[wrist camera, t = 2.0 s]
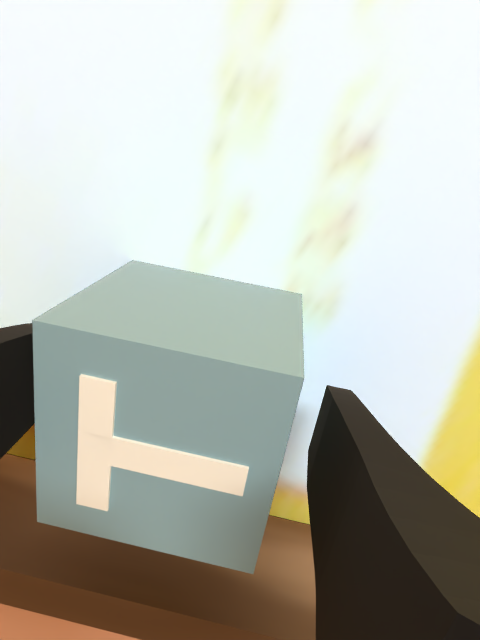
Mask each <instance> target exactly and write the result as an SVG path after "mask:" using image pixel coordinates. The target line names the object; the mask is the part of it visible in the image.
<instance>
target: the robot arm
mask: <svg viewBox="0 0 480 640" xmlns="http://www.w3.org/2000/svg"><path fill="white" fill-rule="evenodd" d="M34 423H35V412H34V369H33V325H32V323H30V324H21V325H15V326H10V327H5V328H0V459H1V458H2V457H3V456H4V455H5V454H6V453H7V452H8V451H9V450H10V449H11V448H12V446H13V445H14V444H15V443H16V442H17V441H18V440H19V439H20V438H21V437H22V436H23V435H24V434H25V433H26V432H27V431H28V430H29V429H30V427H31V426H32V425H33V424H34ZM307 492H308V504H309V516H310V527H311V537H312V548H313V559H314V570H315V587H316V640H480V518H479V517H478V516H476V515H475V514H474V513H473V512H471V511H470V510H469V509H468V508H466V507H465V506H464V505H463V504H461V503H460V502H459V501H458V500H457V499H455V498H454V497H453V496H452V495H451V494H450V493H449V492H447V491H446V490H445V489H444V488H443V487H442V486H440V485H439V484H438V483H437V482H436V481H435V480H434V479H433V478H431V477H430V476H429V475H428V474H427V473H426V472H425V471H424V470H423V469H422V468H421V467H420V466H419V465H418V464H417V463H416V462H415V461H414V460H413V459H412V458H411V457H410V456H409V455H408V454H407V453H406V452H405V451H404V450H403V449H402V448H401V447H400V446H399V445H398V443H397V442H396V441H395V440H394V439H393V438H392V437H391V436H390V435H389V434H388V432H387V431H386V430H385V429H384V428H383V427H382V426H381V424H380V423H379V422H378V421H377V420H376V419H375V417H374V416H373V415H372V414H371V413H370V411H369V410H368V409H367V408H366V407H365V406H364V404H363V403H362V402H361V401H360V400H359V398H358V397H357V396H356V395H355V394H354V393H353V392H352V391H351V390H347V389H342V388H337V387H333V386H328V385H327V387H326V390H325V394H324V397H323V401H322V404H321V408H320V411H319V415H318V418H317V422H316V425H315V429H314V432H313V436H312V439H311V443H310V446H309V450H308V469H307Z"/></svg>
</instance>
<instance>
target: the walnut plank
mask: <svg viewBox="0 0 480 640" xmlns="http://www.w3.org/2000/svg"><path fill="white" fill-rule="evenodd" d="M0 604H4V605H8V606H12V607H16V608H20V609H24V610H28V611H31V612H35V613H39V614H43V615H47V616H51V617H55V618H59V619H63V620H67V621H70V622H74V623H78V624H82V625H86V626H90V627H94V628H98V629H102V630H105V631H109V632H113V633H117V634H121V635H125V636H129V637H133V638H137V639H140V640H316V587H315V570H314V559H313V548H312V537H311V527H310V525H308V524H304V523H300V522H296V521H291V520H287V519H283V518H279V517H274V516H270V515H269V516H268V520H267V523H266V527H265V531H264V535H263V539H262V543H261V546H260V550H259V554H258V558H257V562H256V566H255V570H254V573H253V574H250V573H246V572H242V571H238V570H234V569H229V568H225V567H221V566H217V565H213V564H209V563H205V562H201V561H197V560H192V559H188V558H184V557H180V556H176V555H172V554H168V553H164V552H160V551H155V550H151V549H147V548H143V547H139V546H135V545H131V544H127V543H122V542H118V541H114V540H110V539H106V538H102V537H98V536H94V535H90V534H85V533H81V532H77V531H73V530H69V529H65V528H61V527H57V526H53V525H48V524H44V523H40V522H37V500H36V461H35V460H31V459H26V458H22V457H18V456H14V455H9V454H5V455H4V456H3V457H2V458H1V459H0Z"/></svg>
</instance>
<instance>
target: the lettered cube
mask: <svg viewBox="0 0 480 640" xmlns="http://www.w3.org/2000/svg"><path fill="white" fill-rule="evenodd" d="M32 325H33V369H34V412H35V456H36V500H37V522H40V523H44V524H48V525H53V526H57V527H61V528H65V529H69V530H73V531H77V532H81V533H85V534H90V535H94V536H98V537H102V538H106V539H110V540H114V541H118V542H122V543H127V544H131V545H135V546H139V547H143V548H147V549H151V550H155V551H160V552H164V553H168V554H172V555H176V556H180V557H184V558H188V559H192V560H197V561H201V562H205V563H209V564H213V565H217V566H221V567H225V568H229V569H234V570H238V571H242V572H246V573H250V574H253V573H254V570H255V566H256V562H257V558H258V554H259V550H260V546H261V543H262V539H263V535H264V531H265V527H266V523H267V520H268V516H269V512H270V508H271V504H272V500H273V496H274V493H275V489H276V485H277V481H278V477H279V473H280V469H281V466H282V462H283V458H284V454H285V450H286V446H287V442H288V439H289V435H290V431H291V427H292V423H293V419H294V415H295V412H296V408H297V404H298V400H299V396H300V392H301V389H302V385H303V381H304V353H303V318H302V294H298V293H293V292H288V291H283V290H279V289H274V288H269V287H264V286H259V285H254V284H249V283H244V282H239V281H234V280H229V279H224V278H219V277H214V276H209V275H204V274H199V273H194V272H189V271H184V270H179V269H174V268H169V267H164V266H159V265H154V264H149V263H144V262H139V261H134V260H132V261H130V262H129V263H127V264H125V265H124V266H122V267H120V268H119V269H117V270H115V271H114V272H112V273H110V274H109V275H107V276H105V277H104V278H102V279H100V280H99V281H97V282H95V283H94V284H92V285H90V286H89V287H87V288H85V289H84V290H82V291H80V292H79V293H77V294H75V295H74V296H72V297H70V298H69V299H67V300H65V301H64V302H62V303H60V304H59V305H57V306H55V307H54V308H52V309H50V310H49V311H47V312H45V313H44V314H42V315H40V316H39V317H37V318H35V319H34V320H32Z"/></svg>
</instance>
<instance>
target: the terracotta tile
mask: <svg viewBox="0 0 480 640" xmlns="http://www.w3.org/2000/svg"><path fill="white" fill-rule="evenodd" d="M0 640H140V639H137V638H133V637H129V636H125V635H121V634H117V633H113V632H109V631H105V630H102V629H98V628H94V627H90V626H86V625H82V624H78V623H74V622H70V621H67V620H63V619H59V618H55V617H51V616H47V615H43V614H39V613H35V612H31V611H28V610H24V609H20V608H16V607H12V606H8V605H4V604H0Z"/></svg>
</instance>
